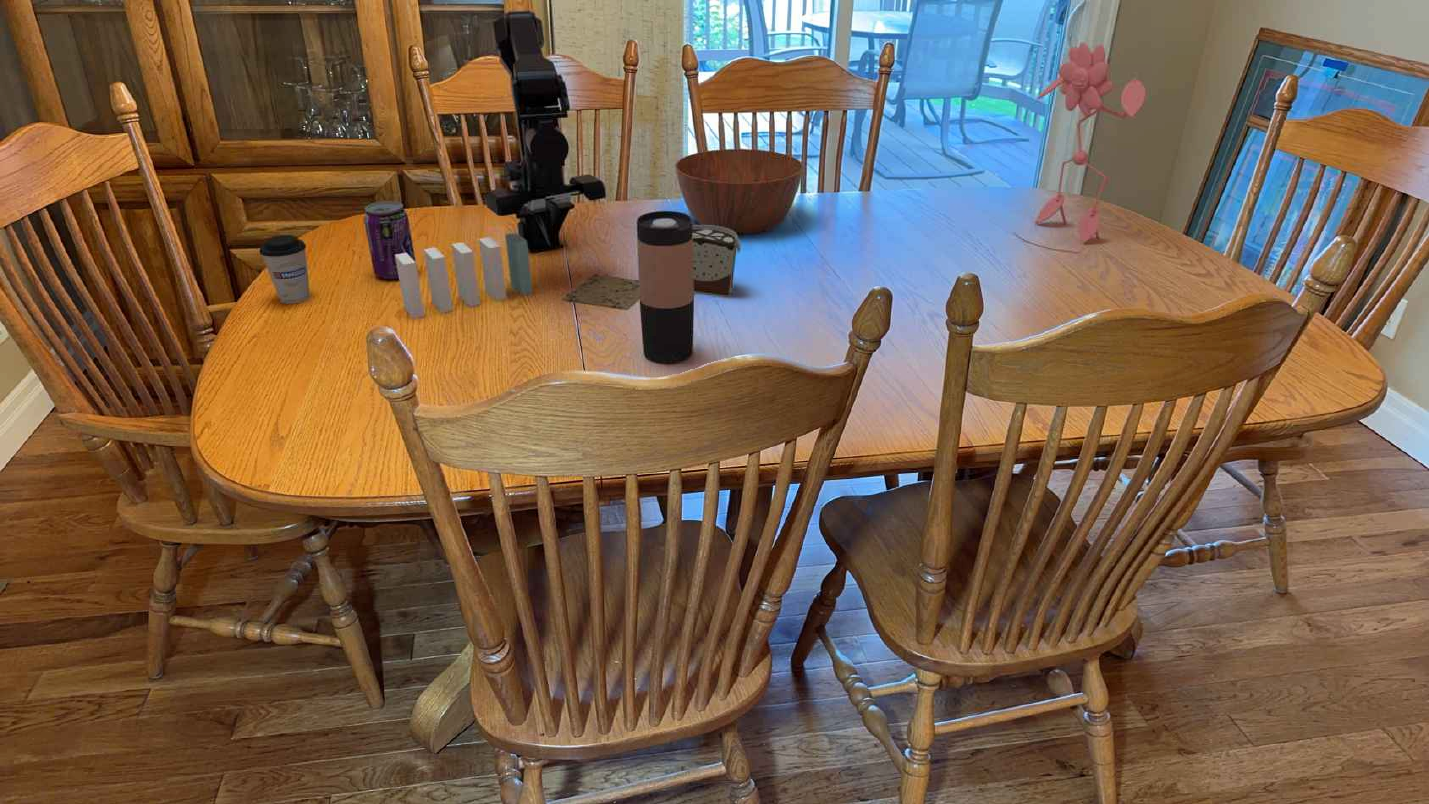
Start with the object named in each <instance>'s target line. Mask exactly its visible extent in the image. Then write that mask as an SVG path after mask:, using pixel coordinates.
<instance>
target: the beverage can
mask: <svg viewBox="0 0 1429 804" xmlns="http://www.w3.org/2000/svg"><path fill="white" fill-rule="evenodd" d="M364 212H365V213H364V217H363V222H364V227H365V234H366V238H367V243H368V248H369V252H370V253H369V254H370V259H371V263H372V270H373V273H374V275H375V276H378V277H380V278H383V279H385V280H386V279H387V280H398V279H399V276H398V270H397V265H396V259H395V255H396V254H402V253H407V254H408V255H409V256H410V257H411V258H412V259H413V260H414V261H415V262H416V256H415V249H414V245H413V244H414V243H413V239H412V232H411V228H410V221H409V216H408V215H409V214H407V212H406V210H405V209H404V204H403V203H402V202H400V201H399V202H398V201H394V200H393V201H390V200H389V201H388V200H387V201H379V202H378V201H377V202H373V203H370V204H369V205H367V206H365V207H364ZM416 263H417V262H416ZM417 267H418V266H416V268H417Z"/></svg>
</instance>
